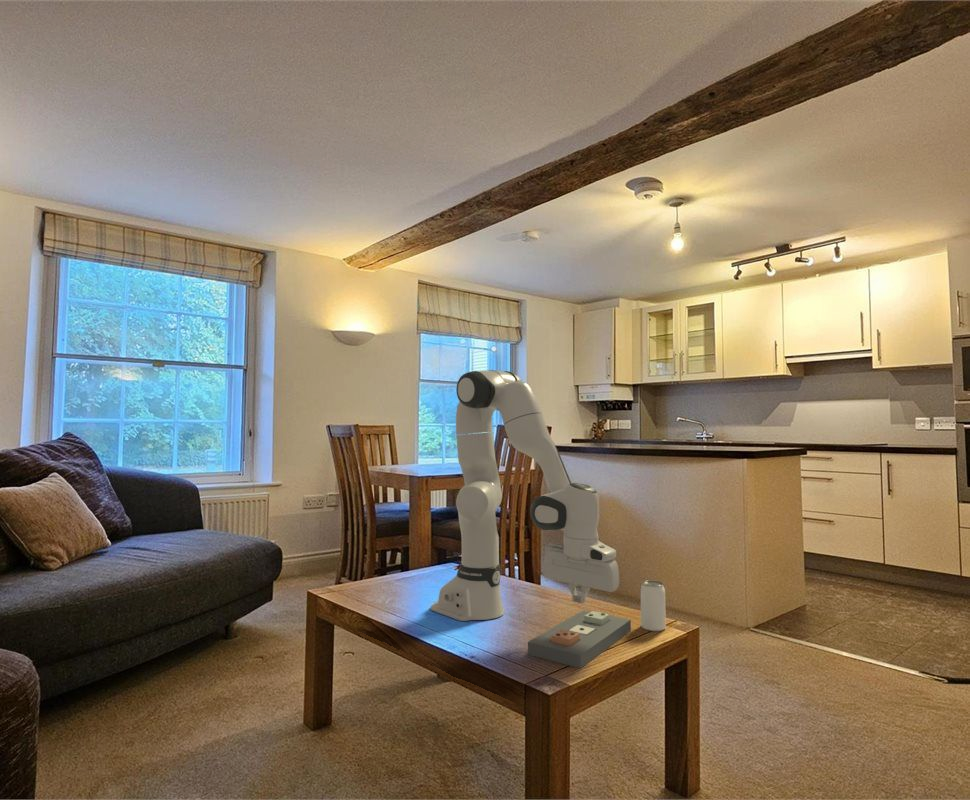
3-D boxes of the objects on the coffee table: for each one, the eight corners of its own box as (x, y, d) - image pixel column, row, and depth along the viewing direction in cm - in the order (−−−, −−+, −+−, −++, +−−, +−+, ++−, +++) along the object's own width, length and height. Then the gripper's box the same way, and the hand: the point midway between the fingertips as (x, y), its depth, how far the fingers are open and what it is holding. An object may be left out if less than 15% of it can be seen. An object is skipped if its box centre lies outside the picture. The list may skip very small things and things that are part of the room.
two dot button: (584, 627, 156) (584, 614, 157) (592, 622, 160) (592, 610, 161) (601, 630, 154) (601, 618, 154) (609, 625, 158) (609, 613, 158)
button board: (527, 654, 142) (527, 641, 142) (583, 621, 166) (583, 610, 166) (580, 668, 133) (580, 655, 134) (630, 631, 158) (630, 619, 158)
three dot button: (551, 647, 142) (551, 634, 142) (561, 641, 146) (561, 628, 146) (569, 652, 139) (569, 638, 139) (579, 646, 143) (579, 632, 143)
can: (646, 622, 165) (646, 578, 165) (669, 627, 161) (668, 582, 161) (636, 628, 160) (636, 583, 160) (659, 633, 156) (659, 587, 156)
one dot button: (568, 642, 149) (568, 629, 149) (577, 636, 153) (577, 624, 153) (586, 646, 146) (586, 633, 146) (595, 640, 150) (595, 627, 150)
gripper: (539, 543, 154) (537, 596, 154) (612, 556, 143) (610, 613, 142) (551, 539, 160) (549, 591, 159) (622, 552, 148) (620, 607, 147)
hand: (578, 601), depth 151 cm, fingers closed
